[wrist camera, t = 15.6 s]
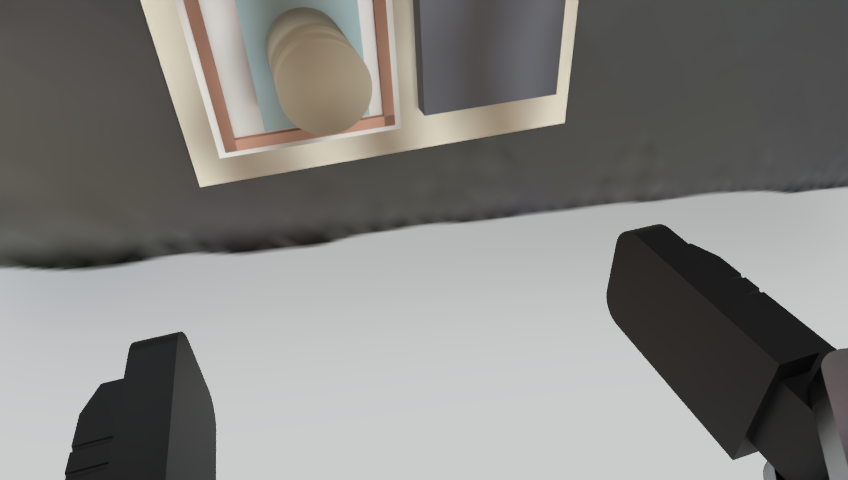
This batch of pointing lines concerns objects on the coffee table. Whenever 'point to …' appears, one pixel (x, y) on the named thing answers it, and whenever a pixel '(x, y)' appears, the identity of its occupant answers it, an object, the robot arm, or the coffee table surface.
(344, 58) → the rubber stamp
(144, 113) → the coffee table surface
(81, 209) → the coffee table surface
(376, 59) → the stamping board
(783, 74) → the coffee table surface
